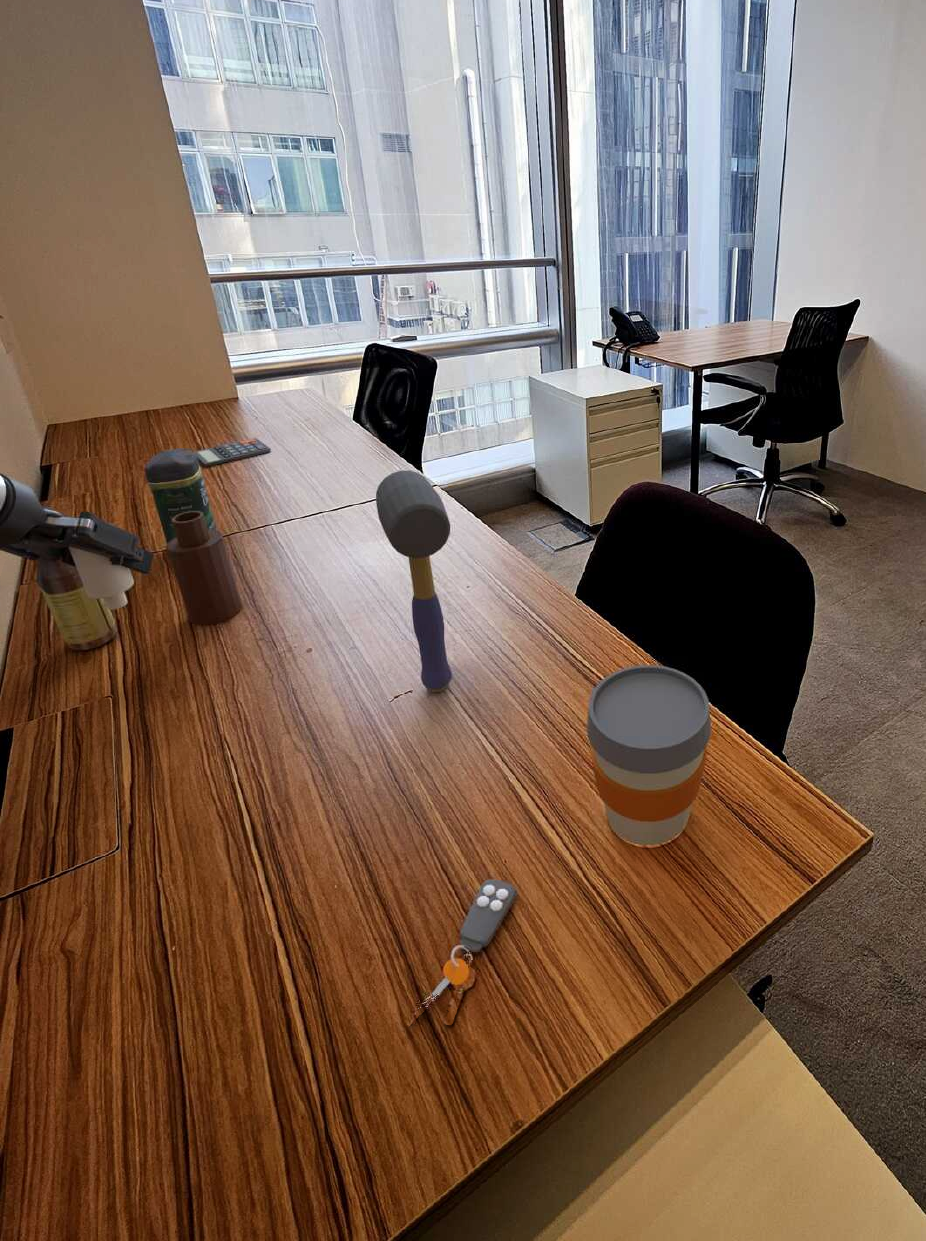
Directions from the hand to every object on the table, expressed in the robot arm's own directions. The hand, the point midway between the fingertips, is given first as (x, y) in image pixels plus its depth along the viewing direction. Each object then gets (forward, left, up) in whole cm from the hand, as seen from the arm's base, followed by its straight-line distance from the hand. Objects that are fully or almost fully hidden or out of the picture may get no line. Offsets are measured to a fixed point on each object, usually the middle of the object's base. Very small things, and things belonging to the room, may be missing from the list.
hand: (126, 564), depth 88 cm
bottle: (0, +14, -17) cm, 22 cm away
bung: (0, -4, -4) cm, 5 cm away
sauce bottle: (-14, +8, -17) cm, 24 cm away
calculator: (-32, +87, -17) cm, 94 cm away
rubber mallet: (+39, -6, -17) cm, 43 cm away
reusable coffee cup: (+66, -28, -17) cm, 74 cm away
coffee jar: (-15, +37, -17) cm, 44 cm away
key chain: (+49, -42, -17) cm, 67 cm away
